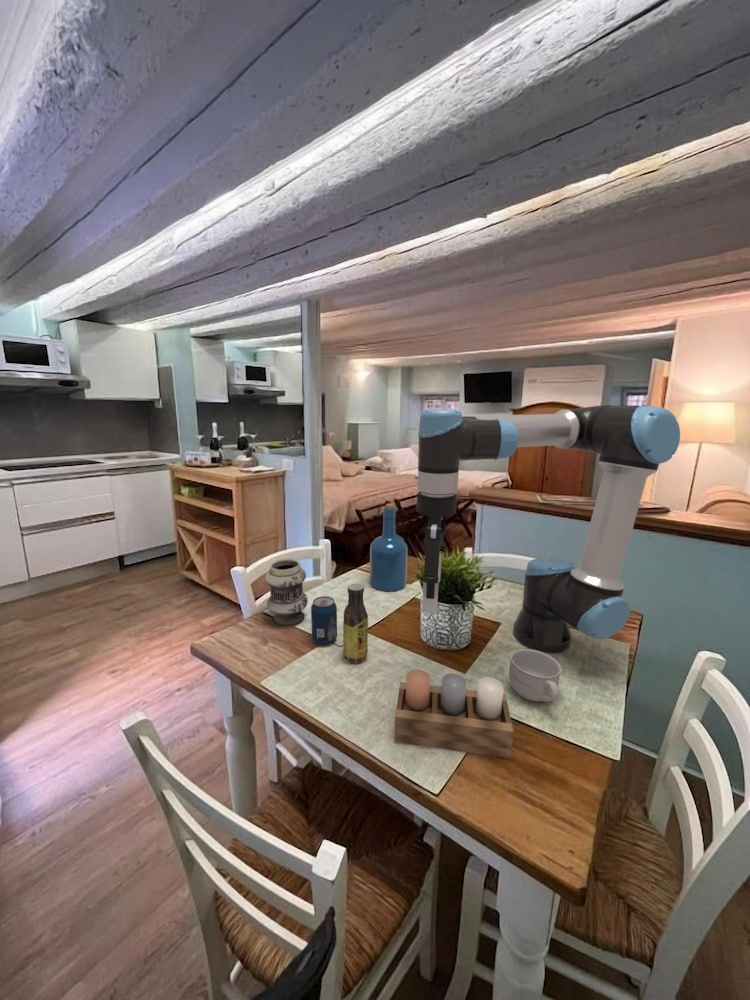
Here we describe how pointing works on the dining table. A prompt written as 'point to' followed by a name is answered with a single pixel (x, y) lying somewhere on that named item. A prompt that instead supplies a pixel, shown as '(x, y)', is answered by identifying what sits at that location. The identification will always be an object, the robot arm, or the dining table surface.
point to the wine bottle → (388, 556)
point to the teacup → (534, 675)
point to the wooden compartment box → (453, 726)
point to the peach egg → (417, 690)
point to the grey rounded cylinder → (453, 694)
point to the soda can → (324, 621)
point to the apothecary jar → (286, 593)
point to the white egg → (489, 698)
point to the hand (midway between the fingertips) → (431, 595)
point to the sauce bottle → (355, 626)
